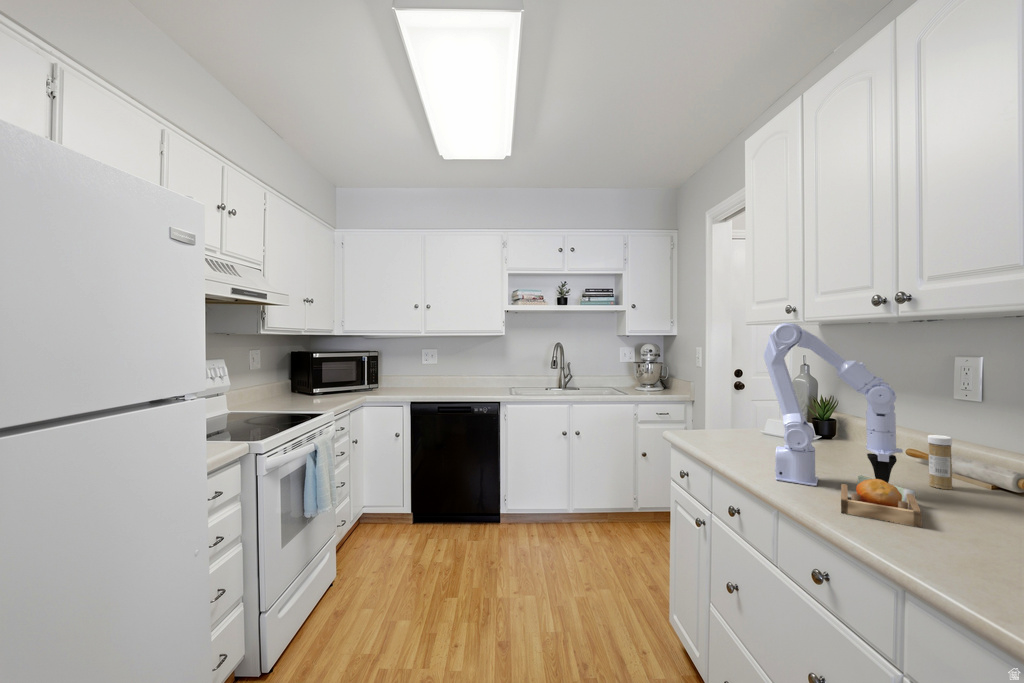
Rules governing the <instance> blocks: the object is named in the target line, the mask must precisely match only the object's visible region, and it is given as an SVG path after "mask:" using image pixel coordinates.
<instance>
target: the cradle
mask: <svg viewBox="0 0 1024 683" xmlns="http://www.w3.org/2000/svg"><path fill="white" fill-rule="evenodd" d="M848 493H849V492H848V484H844V483H841V485H840V514H844V513H845V515H849V514H852V515H851V516H855V515H857V516H856V517H860V516H863V517H862V518H866V517H869V518H868V519H871V518H875V519H874V520H877V519H880V520H879V521H882V520H885V521H884V522H888V521H890V522H889V523H893V522H894V523H893V524H898V523H900V525H904V524H907V525H906V526H909V525H912V527H915V526H917V528H920V527H923V523H922V518H923V517H922V516H923V514H922V511H921V509H920V507H919V504H918V501H917V500H916V496H915V497H914V495H912V494H907V502H904V501H898V508H897V507H891V506H884V505H878V504H872V503H866V502H860V495H859V494H857V493H851V499H848Z"/></svg>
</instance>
